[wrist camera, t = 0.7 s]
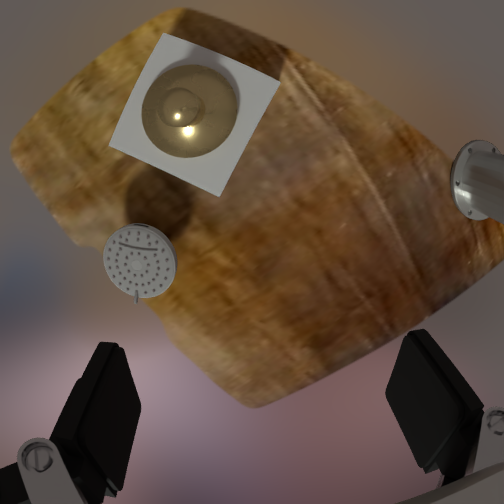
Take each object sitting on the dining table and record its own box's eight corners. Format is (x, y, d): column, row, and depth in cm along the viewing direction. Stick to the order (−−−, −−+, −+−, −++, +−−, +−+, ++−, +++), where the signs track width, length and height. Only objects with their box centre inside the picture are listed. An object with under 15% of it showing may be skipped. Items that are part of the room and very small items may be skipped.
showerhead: (101, 298, 37) (99, 223, 33) (120, 273, 43) (122, 207, 40) (170, 312, 37) (176, 235, 34) (181, 284, 44) (188, 217, 40)
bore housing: (276, 89, 34) (281, 82, 29) (223, 187, 39) (219, 197, 33) (175, 45, 32) (163, 32, 26) (127, 142, 36) (108, 145, 31)
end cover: (254, 94, 33) (255, 80, 24) (215, 167, 37) (202, 181, 27) (179, 61, 31) (154, 39, 22) (143, 134, 35) (107, 137, 25)
